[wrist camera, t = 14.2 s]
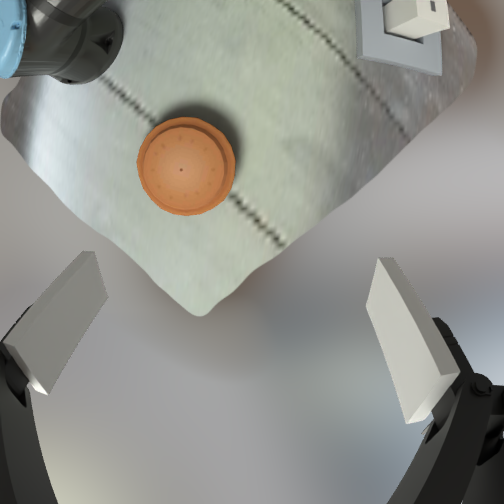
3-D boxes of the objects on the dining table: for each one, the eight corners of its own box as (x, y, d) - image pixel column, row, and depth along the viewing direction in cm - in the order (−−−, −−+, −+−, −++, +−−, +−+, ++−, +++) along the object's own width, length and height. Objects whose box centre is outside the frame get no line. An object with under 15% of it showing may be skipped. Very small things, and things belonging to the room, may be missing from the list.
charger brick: (411, 40, 31) (450, 27, 21) (383, 33, 32) (418, 15, 21) (409, 15, 29) (446, -3, 18) (382, 7, 29) (414, -15, 18)
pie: (203, 96, 39) (195, 95, 35) (256, 177, 45) (255, 186, 41) (129, 151, 44) (115, 157, 39) (180, 223, 50) (171, 235, 45)
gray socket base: (433, 75, 34) (442, 75, 31) (356, 58, 35) (362, 55, 32) (427, -3, 26) (435, -7, 24) (352, -24, 27) (357, -30, 24)
